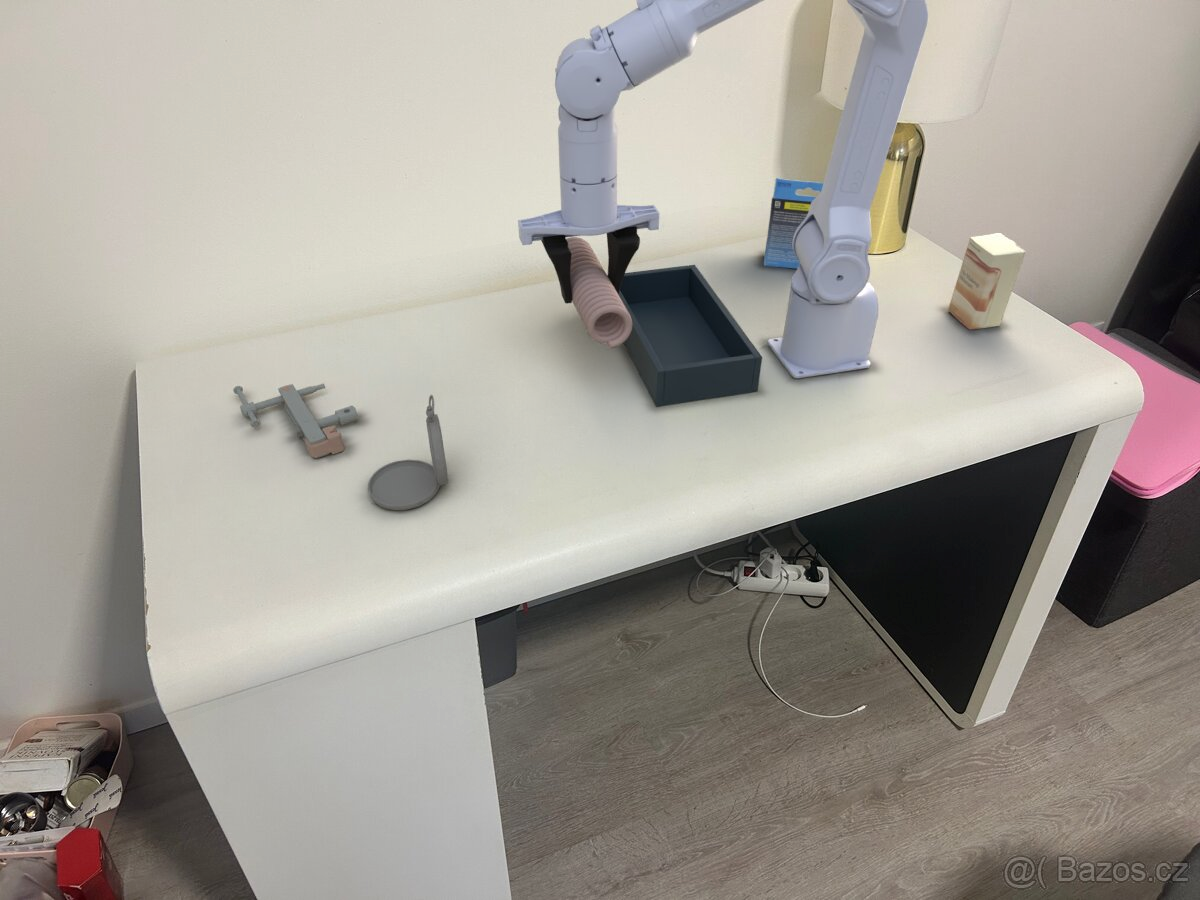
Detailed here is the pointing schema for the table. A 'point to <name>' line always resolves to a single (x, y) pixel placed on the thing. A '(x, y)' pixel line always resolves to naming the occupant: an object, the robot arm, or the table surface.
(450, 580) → the table surface
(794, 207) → the label tape box
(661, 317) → the bin
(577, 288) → the coil
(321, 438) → the clamp
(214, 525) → the table surface
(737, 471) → the table surface
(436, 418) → the pocket watch
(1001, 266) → the printed cream carton
